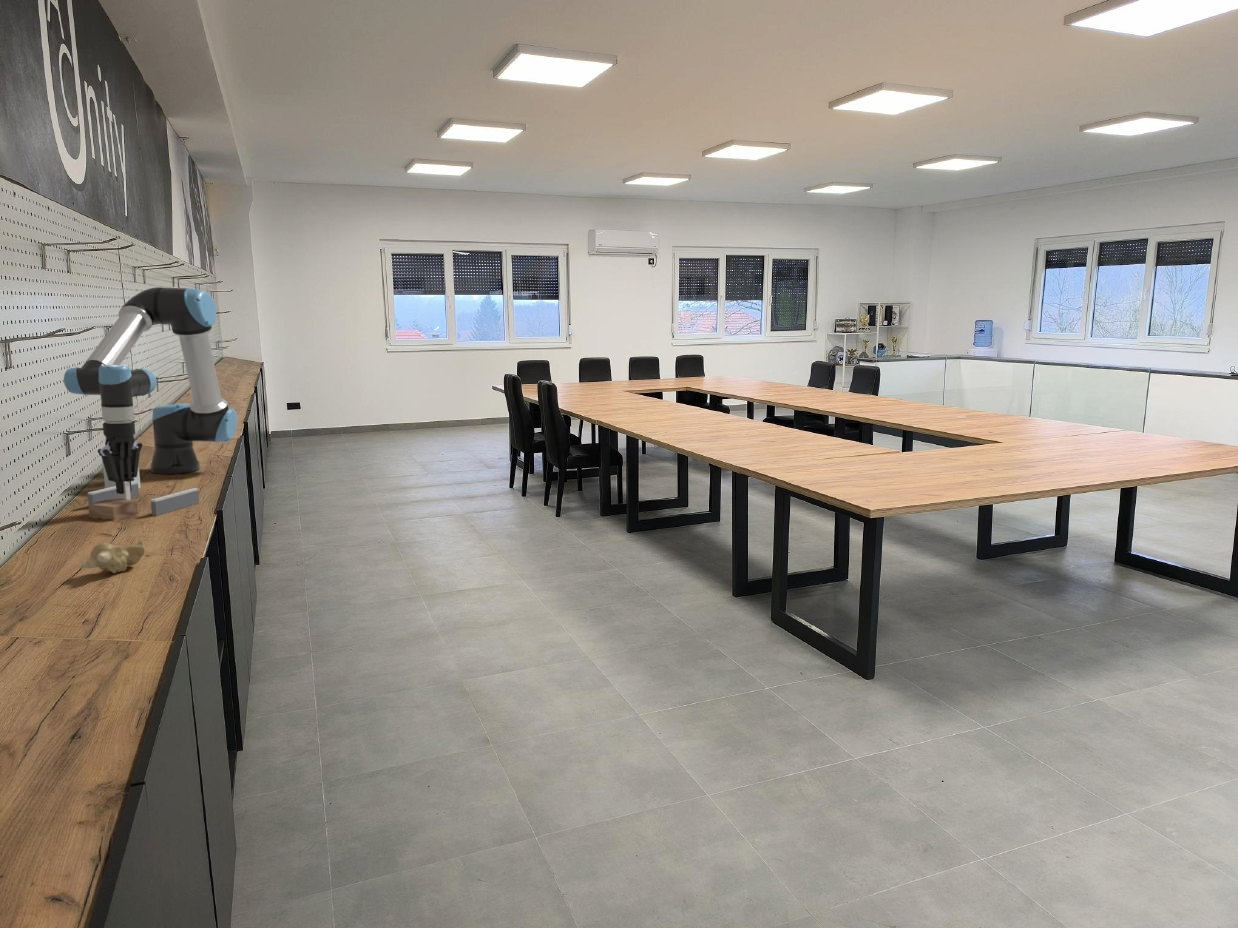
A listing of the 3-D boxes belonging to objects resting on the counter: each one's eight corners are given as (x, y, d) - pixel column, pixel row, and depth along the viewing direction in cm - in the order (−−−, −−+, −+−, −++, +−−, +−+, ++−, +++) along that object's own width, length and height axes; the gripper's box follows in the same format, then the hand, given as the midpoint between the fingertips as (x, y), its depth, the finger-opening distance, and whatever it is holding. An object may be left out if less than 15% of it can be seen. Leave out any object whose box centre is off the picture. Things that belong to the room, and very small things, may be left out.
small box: (141, 488, 253) (138, 456, 251) (128, 492, 248) (126, 459, 246) (117, 487, 254) (114, 454, 252) (104, 491, 248) (101, 457, 246)
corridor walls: (134, 495, 244) (133, 481, 243) (199, 503, 238) (198, 488, 237) (88, 507, 228) (87, 492, 228) (156, 516, 223) (155, 500, 222)
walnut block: (113, 511, 227) (112, 497, 226) (137, 514, 225) (136, 500, 224) (89, 518, 219) (88, 504, 218) (114, 521, 217) (113, 507, 217)
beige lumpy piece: (149, 539, 183) (103, 538, 171) (151, 570, 181) (106, 571, 170) (120, 545, 184) (72, 545, 173) (122, 576, 183) (75, 577, 172)
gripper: (126, 417, 229) (133, 497, 233) (86, 423, 217) (94, 508, 221) (148, 419, 227) (154, 500, 232) (109, 425, 215) (116, 510, 219)
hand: (125, 504), depth 226 cm, fingers closed
